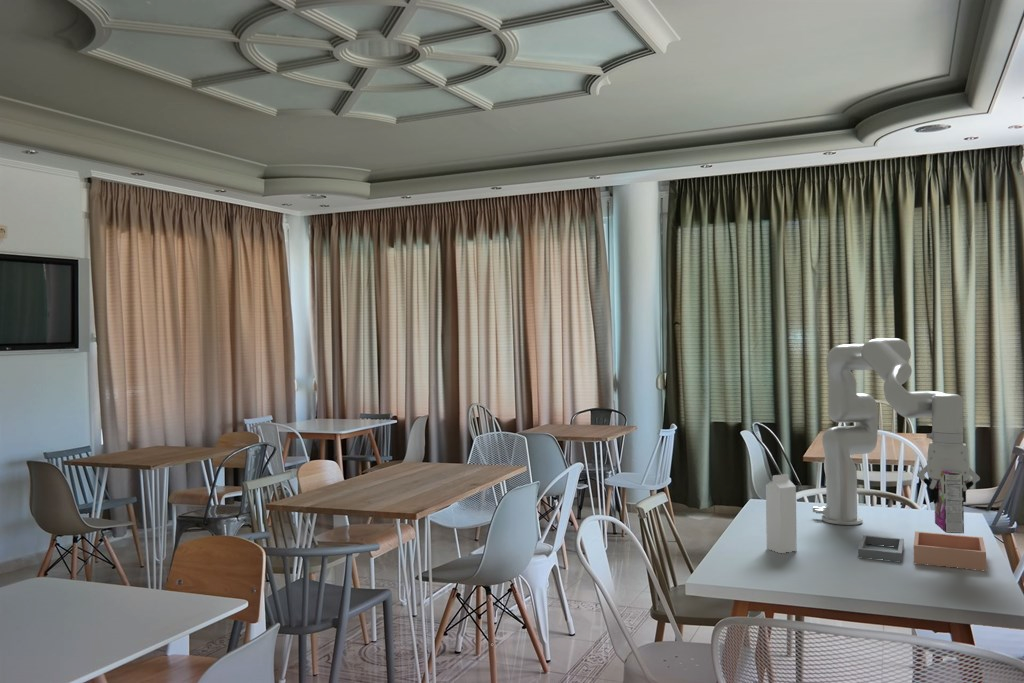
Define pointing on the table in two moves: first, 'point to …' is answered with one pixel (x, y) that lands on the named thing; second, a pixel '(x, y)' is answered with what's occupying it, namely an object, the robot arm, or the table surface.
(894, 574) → the table surface
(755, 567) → the table surface
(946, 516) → the candy bar box
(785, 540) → the milk
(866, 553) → the tray
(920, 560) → the salmon hollow open box
